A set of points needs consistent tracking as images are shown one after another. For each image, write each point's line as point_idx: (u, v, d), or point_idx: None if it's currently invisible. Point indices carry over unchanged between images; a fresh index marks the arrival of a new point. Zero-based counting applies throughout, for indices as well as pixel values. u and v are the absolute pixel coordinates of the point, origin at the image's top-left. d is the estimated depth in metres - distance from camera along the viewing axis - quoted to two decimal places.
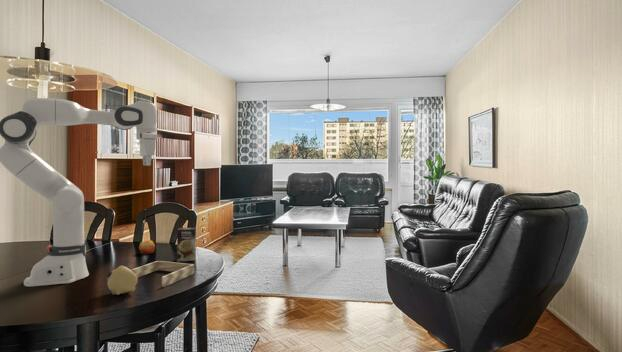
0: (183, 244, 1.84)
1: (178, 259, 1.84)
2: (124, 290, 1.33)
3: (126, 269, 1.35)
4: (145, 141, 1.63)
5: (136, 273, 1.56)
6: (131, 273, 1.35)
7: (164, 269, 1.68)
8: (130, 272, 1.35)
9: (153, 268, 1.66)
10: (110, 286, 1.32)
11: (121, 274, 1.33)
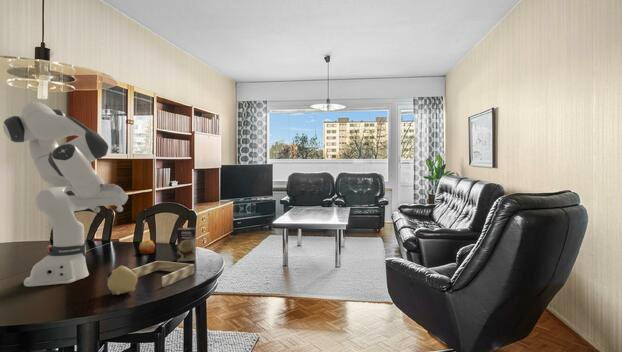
0: (183, 244, 1.84)
1: (178, 259, 1.84)
2: (124, 290, 1.33)
3: (126, 269, 1.35)
4: None
5: (136, 273, 1.56)
6: (131, 273, 1.35)
7: (164, 269, 1.68)
8: (130, 272, 1.35)
9: (153, 268, 1.66)
10: (110, 286, 1.32)
11: (121, 274, 1.33)
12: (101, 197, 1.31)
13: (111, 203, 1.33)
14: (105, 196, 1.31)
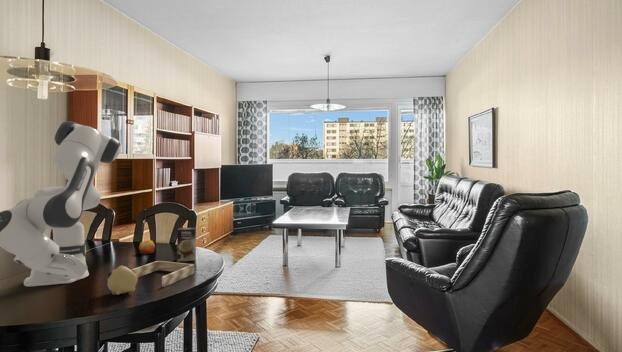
0: (183, 244, 1.84)
1: (178, 259, 1.84)
2: (124, 290, 1.33)
3: (126, 269, 1.35)
4: None
5: (136, 273, 1.56)
6: (131, 273, 1.35)
7: (164, 269, 1.68)
8: (130, 272, 1.35)
9: (153, 268, 1.66)
10: (110, 286, 1.32)
11: (121, 274, 1.33)
12: (55, 267, 1.10)
13: (67, 274, 1.11)
14: (59, 267, 1.09)
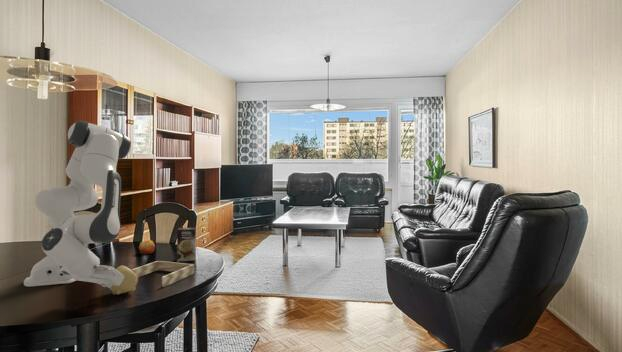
0: (183, 244, 1.84)
1: (178, 259, 1.84)
2: (124, 290, 1.34)
3: (126, 269, 1.35)
4: None
5: (136, 273, 1.56)
6: (131, 273, 1.35)
7: (164, 269, 1.68)
8: (130, 272, 1.35)
9: (153, 268, 1.66)
10: None
11: (121, 273, 1.33)
12: (96, 277, 1.24)
13: (106, 283, 1.25)
14: (99, 277, 1.23)
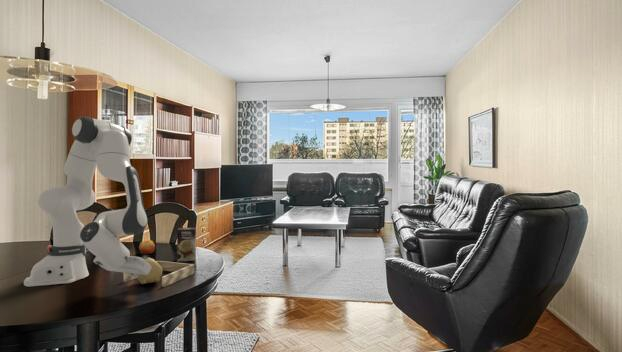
0: (183, 244, 1.84)
1: (178, 259, 1.84)
2: (149, 280, 1.45)
3: (152, 261, 1.47)
4: None
5: None
6: (156, 264, 1.46)
7: (164, 269, 1.68)
8: (155, 263, 1.46)
9: None
10: None
11: None
12: (126, 267, 1.36)
13: (135, 272, 1.37)
14: (130, 267, 1.35)
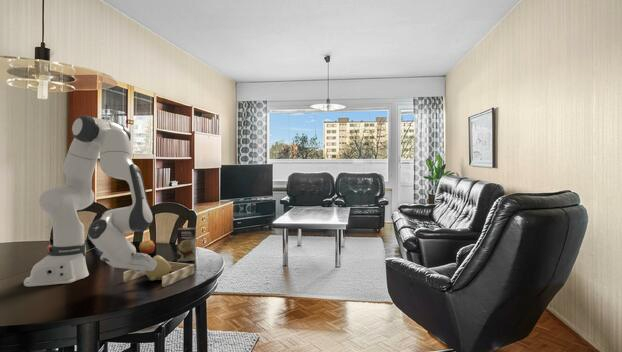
0: (183, 244, 1.84)
1: (178, 259, 1.84)
2: (158, 277, 1.50)
3: (160, 258, 1.51)
4: None
5: (136, 273, 1.56)
6: (165, 262, 1.51)
7: None
8: (164, 261, 1.51)
9: None
10: (147, 273, 1.49)
11: None
12: (133, 263, 1.39)
13: (142, 269, 1.40)
14: (136, 263, 1.38)
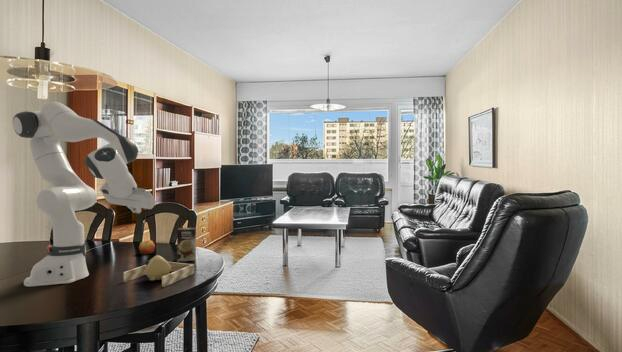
0: (183, 244, 1.84)
1: (178, 259, 1.84)
2: (158, 277, 1.50)
3: (160, 258, 1.51)
4: None
5: (136, 273, 1.56)
6: (165, 262, 1.51)
7: None
8: (164, 261, 1.51)
9: None
10: (147, 273, 1.49)
11: (156, 262, 1.49)
12: (132, 199, 1.40)
13: (140, 206, 1.41)
14: (135, 199, 1.39)
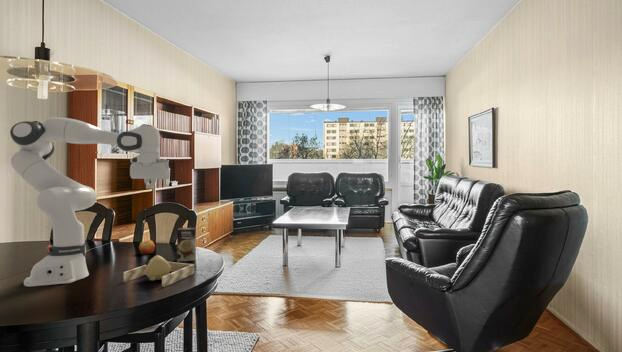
0: (183, 244, 1.84)
1: (178, 259, 1.84)
2: (158, 277, 1.50)
3: (160, 258, 1.51)
4: None
5: (136, 273, 1.56)
6: (165, 262, 1.51)
7: None
8: (164, 261, 1.51)
9: None
10: (147, 273, 1.49)
11: (156, 262, 1.49)
12: (152, 169, 1.70)
13: (156, 176, 1.70)
14: (155, 168, 1.70)
